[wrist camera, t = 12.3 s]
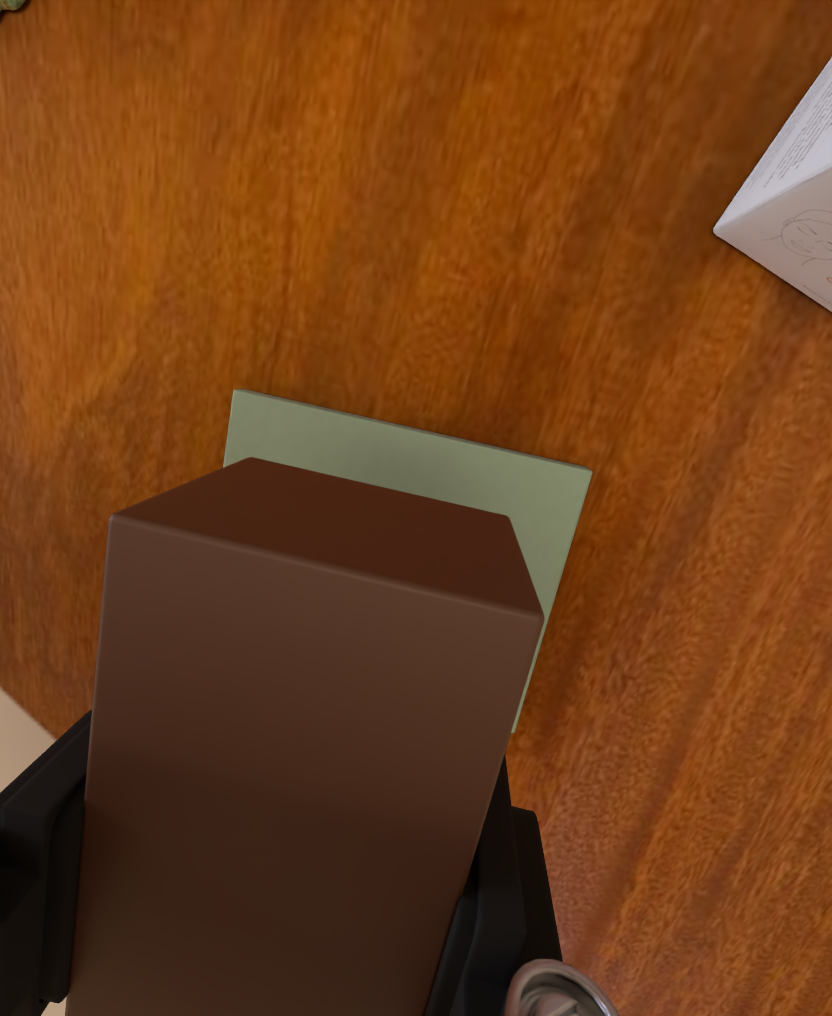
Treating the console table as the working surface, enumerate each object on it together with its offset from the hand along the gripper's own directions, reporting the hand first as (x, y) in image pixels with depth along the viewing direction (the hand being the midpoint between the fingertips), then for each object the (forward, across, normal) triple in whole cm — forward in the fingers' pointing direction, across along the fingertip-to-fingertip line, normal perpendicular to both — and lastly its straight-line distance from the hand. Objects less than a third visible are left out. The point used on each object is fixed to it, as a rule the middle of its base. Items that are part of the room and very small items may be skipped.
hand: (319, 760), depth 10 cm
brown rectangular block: (+1, 0, 0) cm, 1 cm away
